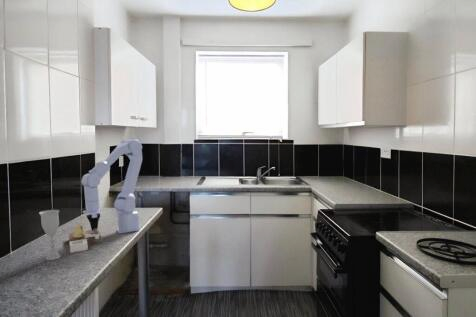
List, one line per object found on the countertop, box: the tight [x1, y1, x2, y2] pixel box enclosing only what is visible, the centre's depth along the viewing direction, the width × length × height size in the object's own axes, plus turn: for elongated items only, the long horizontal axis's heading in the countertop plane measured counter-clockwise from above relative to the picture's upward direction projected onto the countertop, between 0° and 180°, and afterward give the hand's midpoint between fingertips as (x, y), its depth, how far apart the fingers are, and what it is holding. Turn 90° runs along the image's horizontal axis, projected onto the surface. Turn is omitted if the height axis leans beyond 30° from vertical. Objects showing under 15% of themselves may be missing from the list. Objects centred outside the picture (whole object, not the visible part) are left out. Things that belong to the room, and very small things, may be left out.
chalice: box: [38, 209, 62, 261], centre depth 139 cm, size 7×7×18 cm
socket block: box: [68, 228, 102, 246], centre depth 160 cm, size 12×13×3 cm
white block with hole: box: [69, 239, 89, 253], centre depth 149 cm, size 6×6×3 cm
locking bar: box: [85, 228, 99, 239], centre depth 156 cm, size 5×11×2 cm, turn 26°
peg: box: [73, 225, 85, 238], centre depth 157 cm, size 5×5×7 cm
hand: (94, 230), depth 162 cm, fingers closed
